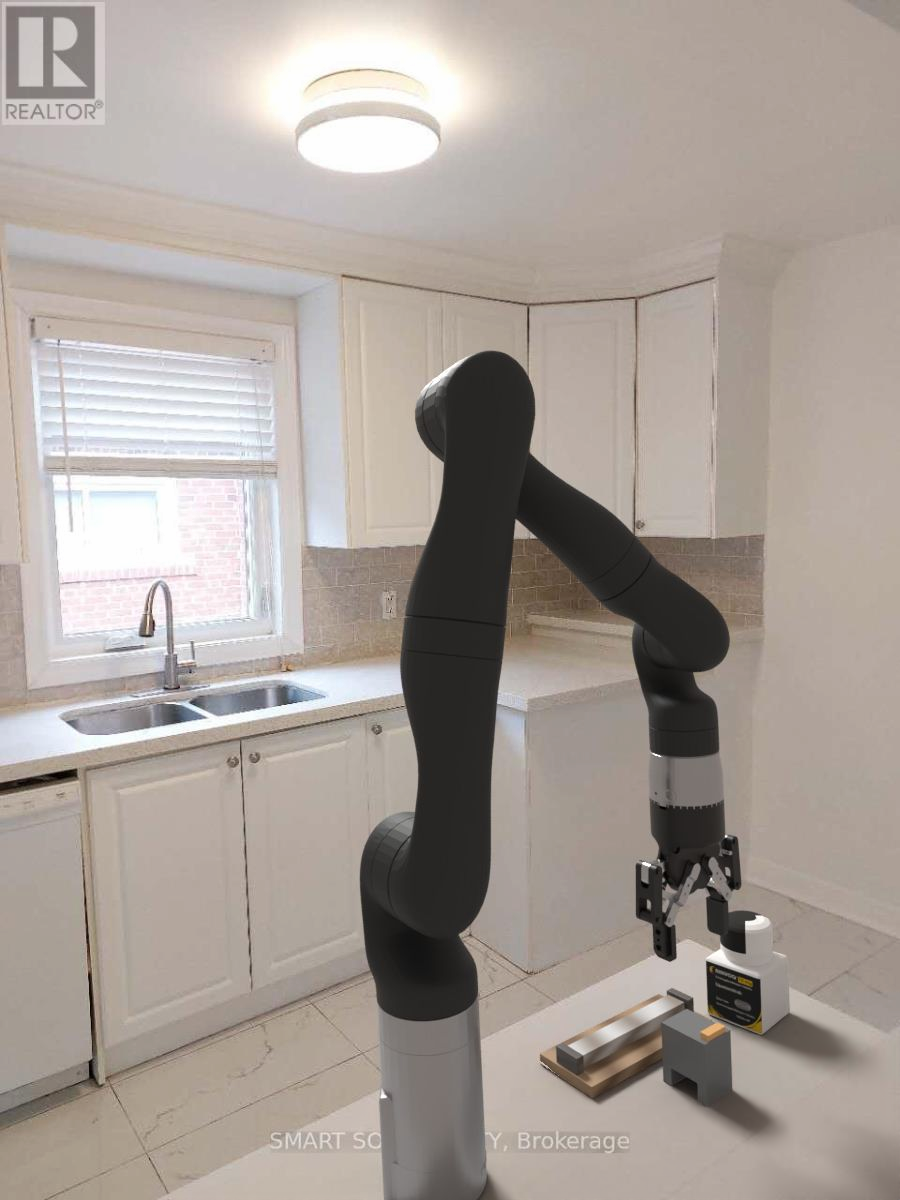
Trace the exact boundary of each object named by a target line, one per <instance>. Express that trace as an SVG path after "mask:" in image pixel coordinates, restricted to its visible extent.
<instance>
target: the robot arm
mask: <svg viewBox="0 0 900 1200" xmlns="http://www.w3.org/2000/svg"><path fill="white" fill-rule="evenodd" d="M414 409H415V410H414V423H415V426H416V431H417V433H418V435H419V437H420V438H419V439H420V440H421V441H422V443H423V444H424V446H425V447H426V448H427V450H428V451H430V453H432V455H434V456H435V458H437V459H439V460H440V461H441V462H442V463H443V470H442V471H443V472H442V485H441V492H440V499H439V503H438V508H437V511H436V513H435V514H436V516H435V518H434V522H433V525H432V527H431V530H430V532H429V535H428V538H427V540H426V543H425V545H424V547H423V550H422V552H421V555H420V557H419V560H418V562H417V566H416V569H415V572H414V574H413V576H412V581H411V585H410V587H409V592H408V595H407V601H406V605H405V612H404V619H403V626H402V627H403V628H402V636H401V637H402V638H401V646H400V659H399V662H400V663H399V666H400V667H399V672H400V682H401V689H402V694H403V700H404V705H405V709H406V713H407V718H408V721H409V724H410V729H411V732H412V736H413V740H414V741H413V742H414V747H415V751H416V758H417V759H416V760H417V788H416V789H417V791H416V800H415V809H414V811H400V812H397V813H394V814H390V815H389V816H388V817H387V816H386V818H384V819H382V820H381V821H380V822H379V823H378V824H377V825H376V826H375V827H374V829H373V830H371V832H370V833H369V836H368V838H367V840H366V842H365V845H363V846H364V848H363V850H362V854H361V857H360V865H359V866H360V867H359V893H360V894H359V895H360V905H361V917H362V929H363V930H362V931H363V941H364V948H365V949H364V950H365V955H366V960H367V964H368V968H369V971H370V973H371V977H372V978H373V981H374V985H375V994H376V995H375V996H376V1011H377V1012H376V1013H377V1028H378V1029H377V1030H378V1050H379V1052H378V1053H379V1069H380V1070H379V1071H380V1090H379V1097H378V1098H379V1099H378V1109H379V1128H380V1130H379V1131H380V1148H381V1150H380V1151H381V1165H382V1170H381V1171H382V1186H383V1187H382V1188H383V1200H479V1198H480V1197H481V1195H482V1194H483V1192H484V1190H485V1188H486V1186H487V1177H488V1175H487V1174H488V1173H487V1172H488V1170H487V1163H488V1162H487V1149H486V1127H485V1109H484V1108H485V1107H484V1084H483V1066H482V1064H483V1062H482V1043H481V1040H482V1039H481V1022H480V1021H481V1020H480V1019H481V1018H480V1001H479V977H478V975H479V974H478V968H477V965H476V964H477V963H476V962H475V959H474V957H473V955H472V954H471V952H470V951H469V949H468V948H467V946H466V945H465V943H464V942H463V940H462V938H461V936H460V934H462V933H463V932H465V931H467V929H468V928H469V927H470V926H471V925H472V924H473V922H474V921H475V920H476V918H477V917H478V915H479V913H480V912H481V909H482V907H483V905H484V903H485V900H486V896H487V893H488V890H489V886H490V885H489V883H490V878H491V877H490V876H491V865H492V864H491V863H492V771H493V770H492V769H493V760H494V759H493V757H494V745H495V733H496V723H497V722H496V721H497V707H498V698H499V689H500V680H501V673H502V666H503V660H504V659H503V658H504V648H505V642H506V641H505V640H506V632H507V631H506V629H507V618H508V613H507V612H508V600H509V589H510V583H511V582H510V580H511V573H512V564H513V553H514V543H515V541H514V540H515V529H516V521H517V522H518V523H520V524H521V525H522V526H523V527H525V528H526V530H527V531H529V532H530V534H532V535H533V536H534V537H535V538H536V539H538V540H539V541H540V542H541V543H542V544H543V546H545V547H546V549H548V550H549V551H550V552H551V553H552V554H553V555H554V556H555V557H556V558H558V560H559V561H560V562H561V563H562V564H563V565H564V566H565V567H566V568H567V569H568V571H570V572H571V574H573V576H574V577H576V578H577V579H578V581H579V582H580V583H581V584H582V585H583V586H584V587H585V588H586V589H587V591H589V593H591V594H592V595H593V597H595V599H596V600H597V601H598V602H599V603H600V604H602V606H603V607H605V608H606V609H607V610H609V611H610V612H611V613H613V614H615V615H618V616H620V617H623V618H627V620H628V619H629V620H631V621H633V622H634V625H633V628H632V636H631V648H632V649H631V651H632V656H633V661H634V665H635V669H636V670H635V671H636V673H637V678H638V681H639V684H640V689H641V692H642V695H643V697H644V700H645V704H646V706H647V713H648V739H649V759H648V760H649V761H648V772H647V773H648V777H647V779H648V793H649V794H648V796H649V821H650V834H651V836H652V838H653V839H654V840H655V842H656V843H657V846H658V853H657V856H656V859H655V860H651V861H646V860H642V859H639V860H637V862H635V863H636V864H635V917H636V919H637V920H641V921H644V922H647V923H648V924H651V925H652V926H651V927H652V942H653V943H652V945H653V946H652V947H653V951H654V953H655V955H656V956H657V958H660V959H662V960H664V961H667V962H668V963H671V962H673V961H676V960H677V958H678V957H677V934H676V925H675V924H674V923H675V921H676V918H677V916H678V912H679V910H680V908H682V907H685V905H686V903H687V901H688V899H689V896H690V895H693V894H694V893H695V892H696V891H697V890H704V891H705V892H706V894H707V895H708V896H706V897H705V902H706V905H705V907H706V925H707V926H706V928H707V930H708V932H711V933H713V934H715V935H718V936H719V937H720V936H724V935H726V934H727V933H728V925H729V914H728V913H729V912H730V911H729V901H730V900H731V899H732V892H733V891H734V890H735V891H739V890H740V889H741V888H742V871H741V860H740V846H739V837H737V836H736V835H732V834H728V833H726V815H725V792H724V790H725V789H724V771H723V766H722V764H723V763H722V759H721V754H720V753H721V751H720V734H719V733H720V731H719V729H720V728H719V727H720V726H719V714H718V707H717V704H716V701H715V700H714V699H713V697H711V696H710V695H709V694H708V693H705V692H704V691H702V690H701V689H700V688H699V686H698V685H697V682H696V679H695V674H694V673H705V672H708V671H711V670H713V669H715V668H716V667H718V666H719V665H721V664H722V662H723V661H724V659H725V658H726V656H727V655H728V651H729V648H730V644H731V641H730V640H731V638H730V631H729V628H728V625H727V622H726V620H725V618H724V616H723V614H722V613H721V612H720V610H719V609H718V608H717V607H716V606H715V604H714V603H713V602H712V601H710V599H708V598H707V597H706V596H705V595H703V594H702V593H701V592H700V591H698V590H697V589H696V588H694V587H693V586H691V585H690V584H689V583H688V582H686V581H685V580H683V578H682V577H680V576H678V575H677V574H675V573H673V571H671V570H669V569H667V568H666V567H665V566H663V564H661V563H660V562H659V561H658V560H657V559H656V558H655V556H654V555H653V554H652V552H650V550H649V549H648V548H647V547H646V545H645V544H643V543H642V542H641V540H640V539H639V538H638V537H637V536H636V535H635V533H633V532H632V530H630V529H629V527H628V525H626V524H625V523H623V522H622V520H621V519H619V518H618V517H617V516H616V515H615V514H614V513H613V512H611V511H610V510H609V509H608V508H606V507H605V506H603V505H602V504H601V503H599V502H598V501H597V500H595V499H593V498H592V497H591V496H588V495H587V494H585V493H583V492H582V491H580V490H578V489H577V488H576V487H574V486H572V485H571V484H570V483H568V482H567V481H565V480H564V479H562V478H561V477H559V476H557V475H556V474H555V473H554V472H553V471H551V470H550V469H549V468H547V466H545V465H544V464H542V463H541V461H539V459H538V458H536V456H534V455H533V454H532V453H531V452H530V449H531V447H530V446H531V442H532V437H533V433H534V426H535V421H536V397H535V391H534V388H533V384H532V381H531V379H530V376H529V375H528V373H527V371H526V369H524V367H523V366H522V365H521V364H520V363H519V361H517V360H516V359H515V358H514V357H512V356H511V355H510V354H508V353H505V352H503V351H499V350H490V349H489V350H483V351H478V352H475V353H473V354H471V355H468V356H465V357H464V358H462V359H460V360H458V361H456V362H455V363H454V364H452V365H451V366H450V367H448V368H446V369H445V370H443V371H442V372H441V373H440V374H438V375H437V376H436V377H434V378H433V379H432V380H431V381H430V382H428V384H426V385H425V386H424V388H423V389H422V390H421V392H420V393H419V396H418V398H417V400H416V403H415V408H414ZM726 868H728V869H729V874H730V875H727V873H726V872H727V871H726V870H727V869H726ZM667 885H668V886H669V888H670V889H671V890H673V891H675V893H673V892H670V891H667V890H666V888H667ZM648 901H649V902H650V907H649V908H648ZM666 902H668V905H667V907H666V910H665V911H663V907H664V903H666Z"/></svg>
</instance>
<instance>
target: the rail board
mask: <svg viewBox="0 0 900 1200" xmlns="http://www.w3.org/2000/svg"><path fill="white" fill-rule="evenodd" d="M694 1005H695V1003H694V997H692V996H690V995H688V994H686V993H684V992H682V991H680V990H678V989H676V988H673V987H671V988H668V989H666V995H665V996H664V995H662V994H660V993H658V994H655V995H654V996H652V997H650V998H648V999H646V1000H644V1001H642V1002H639V1003H637V1004H636V1005H634V1006H632V1007H630V1008H628V1009H625V1010H624V1011H622V1012H620V1013H618V1014H616V1015H614V1016H612V1017H610V1018H608V1019H606V1020H604V1021H602V1022H599V1023H598V1024H596V1025H594V1026H592V1027H590V1028H588V1029H586V1030H584V1031H582V1032H580V1033H578V1034H576V1035H574V1036H571V1037H570V1038H568V1039H566V1040H564V1041H562V1042H560V1043H558V1044H556V1045H554V1046H552V1047H550V1048H548V1049H546V1050H545V1051H542V1052H540V1053H539V1062H540V1061H541V1062H543V1063H544V1064H545V1065H547V1066H548V1067H549V1068H550V1069H551V1070H552V1071H553V1072H555V1073H556V1074H557V1075H556V1074H555V1073H554V1074H555V1075H556V1076H558V1075H559V1076H560V1078H561V1079H562V1080H563V1081H566V1083H568V1084H570V1085H571V1086H573V1088H575V1089H577V1090H579V1091H580V1092H582V1093H583V1094H584V1095H586V1096H588V1097H589V1098H591V1099H594V1098H596V1097H597V1096H600V1095H601V1094H602V1093H605V1092H606V1091H607V1090H610V1089H611V1088H613V1087H615V1086H616V1085H618V1084H620V1083H622V1082H623V1081H625V1080H627V1079H629V1078H631V1077H633V1076H634V1075H637V1074H638V1073H639V1072H642V1071H643V1070H644V1069H647V1068H648V1067H650V1066H651V1065H653V1064H655V1063H657V1062H658V1061H660V1060H663V1057H662V1030H661V1022H663V1021H665V1020H666V1019H668V1018H670V1017H672V1016H674V1015H676V1014H678V1013H680V1012H682V1011H683V1010H685V1009H688V1010H690V1011H692V1012H694V1013H696V1014H698V1015H700V1016H703V1017H705V1018H707V1019H709V1020H711V1021H713V1019H711V1018H710V1017H707V1016H705V1015H704V1014H701V1013H699V1012H697V1011H695V1008H694V1007H695V1006H694ZM552 1071H551V1072H552ZM553 1072H552V1073H553ZM559 1076H558V1077H559Z"/></svg>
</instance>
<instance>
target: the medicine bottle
mask: <svg viewBox="0 0 900 1200" xmlns="http://www.w3.org/2000/svg"><path fill="white" fill-rule="evenodd" d="M728 914H729V925H728V933H727V934H726V935H724V936H720V935H719V942H720V944H719V946H720V948H719V949H718V950H716V951H715V952H713V953H712V954H709V956H707V957H706V958H705V969H706V972H705V974H706V997H707V998H706V1001H707V1013H708V1015H710V1016H713V1017H715V1018H717V1019H720V1020H722V1021H724V1022H727V1023H730V1024H732V1025H734V1026H736V1027H740V1028H742V1029H744V1030H747V1031H748V1032H749V1031H750V1032H753V1033H754V1034H757V1035H759V1036H762V1035H764V1034H765V1033H766V1032H767V1031H769V1030H770V1029H771V1028H772V1027H773V1026H775V1025H776V1024H777V1023H778V1022H779V1021H781V1020H782V1019H783V1018H784V1017H787V1015H788V1014H789V1013H790V1010H791V1007H790V1006H791V1003H790V977H789V976H790V975H789V972H790V970H789V958H788V956H787V955H785V954H782V953H779V952H776V951H774V942H773V941H774V940H773V939H774V937H773V936H774V935H773V923H772V921H770V919H769V918H768V917H766V916H765V915H762V914H760V913H758V912H755V911H751V910H733V911H729V913H728Z"/></svg>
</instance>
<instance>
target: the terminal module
mask: <svg viewBox="0 0 900 1200" xmlns="http://www.w3.org/2000/svg"><path fill="white" fill-rule="evenodd" d="M703 1016H704V1015H703ZM703 1016H700V1015H698V1014H696V1013H694V1012H692V1011H690V1010H688V1009H685V1010H683V1011H682V1012H680V1013H678V1014H676V1015H674V1016H672V1017H670V1018H668V1019H666V1020H665V1021H663V1022H661V1030H662V1057H663V1058H662V1075H663V1077H662V1078H663V1079H662V1080H663V1082H664V1083H666V1084H668V1085H670V1086H674V1085H675V1084H677V1083H678V1082H681V1081H682V1080H683V1079H685V1078H688V1079H689V1080H691V1081H692V1082H695V1083H696V1084H697V1101H698V1103H700V1104H702V1105H704V1106H706V1107H708V1106H710V1105H712V1104H714V1103H715V1102H716V1101H719V1099H721V1098H722V1097H724V1096H726V1095H727V1094H728V1093H730V1092H732V1091H733V1070H732V1069H733V1067H732V1065H733V1063H732V1042H731V1041H732V1040H731V1039H732V1038H731V1037H732V1036H731V1029H729V1028H727V1027H726V1025H723V1024H722V1023H719V1022H714V1021H713V1020H712V1021H711V1020H709V1019H707V1018H705V1017H703Z"/></svg>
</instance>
